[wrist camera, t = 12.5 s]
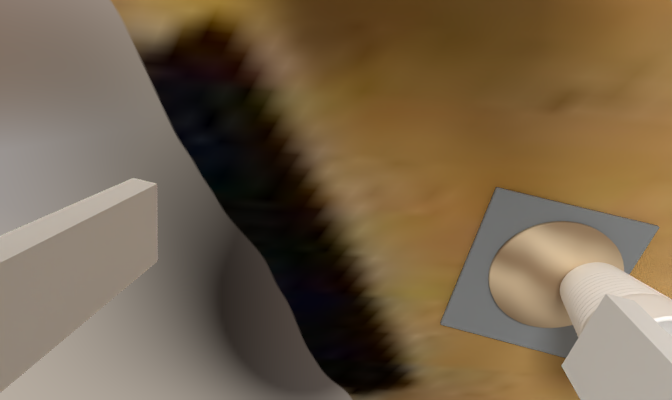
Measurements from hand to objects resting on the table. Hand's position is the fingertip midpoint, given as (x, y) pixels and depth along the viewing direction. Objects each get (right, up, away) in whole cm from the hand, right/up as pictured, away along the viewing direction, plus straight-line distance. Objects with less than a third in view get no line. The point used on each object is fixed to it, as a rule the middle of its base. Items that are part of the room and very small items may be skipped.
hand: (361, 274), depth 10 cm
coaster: (+23, -6, +27) cm, 36 cm away
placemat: (+22, -6, +28) cm, 36 cm away
